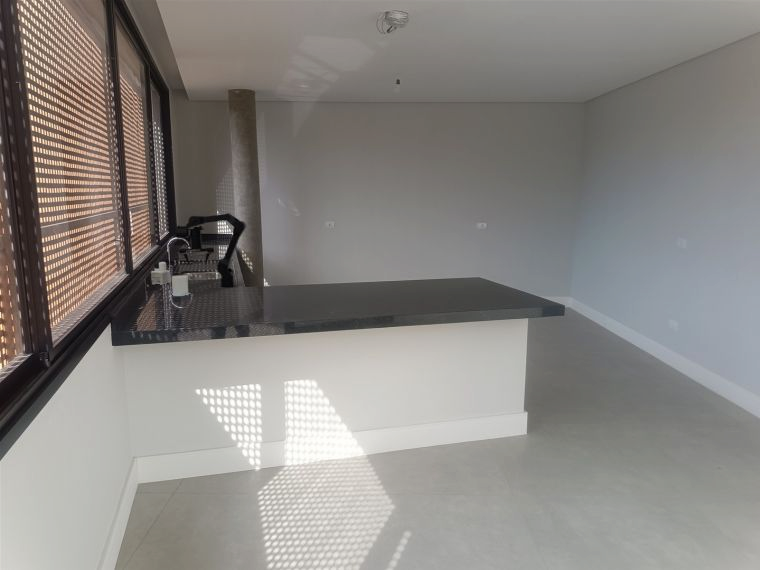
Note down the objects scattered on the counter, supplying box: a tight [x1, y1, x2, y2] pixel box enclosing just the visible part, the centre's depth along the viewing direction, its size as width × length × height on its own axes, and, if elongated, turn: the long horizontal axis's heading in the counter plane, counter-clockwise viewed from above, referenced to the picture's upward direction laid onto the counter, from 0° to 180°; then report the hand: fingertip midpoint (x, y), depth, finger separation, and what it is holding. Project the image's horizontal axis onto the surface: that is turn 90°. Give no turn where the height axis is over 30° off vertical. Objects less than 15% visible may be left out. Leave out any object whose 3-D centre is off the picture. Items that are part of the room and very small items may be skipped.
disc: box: [171, 291, 191, 297], centre depth 281 cm, size 10×10×1 cm
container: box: [150, 261, 172, 286], centre depth 311 cm, size 8×8×13 cm
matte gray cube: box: [171, 274, 189, 294], centre depth 284 cm, size 8×8×9 cm
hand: (197, 265), depth 301 cm, fingers open, 9 cm apart
